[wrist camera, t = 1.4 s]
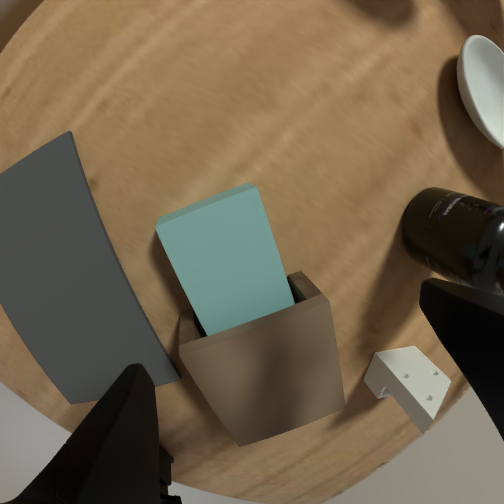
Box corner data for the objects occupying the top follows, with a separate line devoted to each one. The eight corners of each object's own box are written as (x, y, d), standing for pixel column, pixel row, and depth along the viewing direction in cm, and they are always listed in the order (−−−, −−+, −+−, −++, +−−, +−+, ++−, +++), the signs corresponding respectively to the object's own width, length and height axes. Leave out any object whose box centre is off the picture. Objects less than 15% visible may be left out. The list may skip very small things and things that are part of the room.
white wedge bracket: (349, 373, 22) (433, 419, 16) (392, 335, 29) (457, 366, 23) (337, 402, 23) (413, 447, 17) (382, 361, 30) (442, 391, 24)
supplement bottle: (418, 171, 20) (543, 200, 9) (458, 206, 22) (559, 243, 11) (386, 246, 22) (501, 314, 11) (431, 270, 24) (525, 330, 13)
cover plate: (234, 370, 23) (240, 394, 20) (160, 216, 18) (154, 227, 15) (300, 343, 24) (313, 365, 21) (246, 182, 19) (256, 186, 16)
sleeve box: (230, 406, 24) (239, 446, 20) (180, 313, 20) (178, 355, 16) (324, 372, 25) (345, 407, 20) (301, 270, 21) (329, 300, 16)
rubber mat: (72, 400, 21) (70, 404, 20) (-36, 205, 14) (-40, 207, 13) (180, 375, 22) (181, 379, 21) (71, 131, 15) (68, 130, 14)
